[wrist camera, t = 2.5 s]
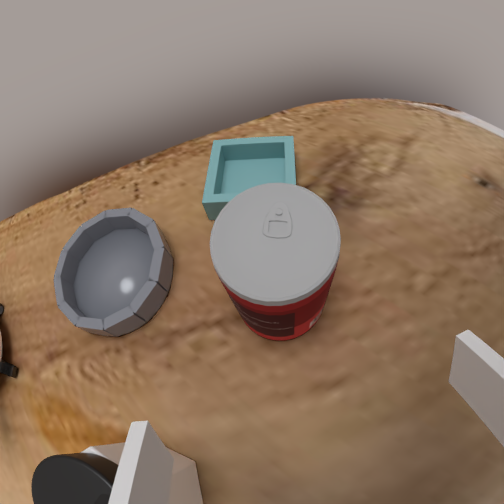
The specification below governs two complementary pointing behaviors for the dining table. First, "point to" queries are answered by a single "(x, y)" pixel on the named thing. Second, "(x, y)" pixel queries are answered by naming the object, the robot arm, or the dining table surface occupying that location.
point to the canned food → (276, 257)
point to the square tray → (246, 168)
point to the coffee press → (4, 366)
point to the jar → (103, 477)
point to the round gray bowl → (114, 273)
